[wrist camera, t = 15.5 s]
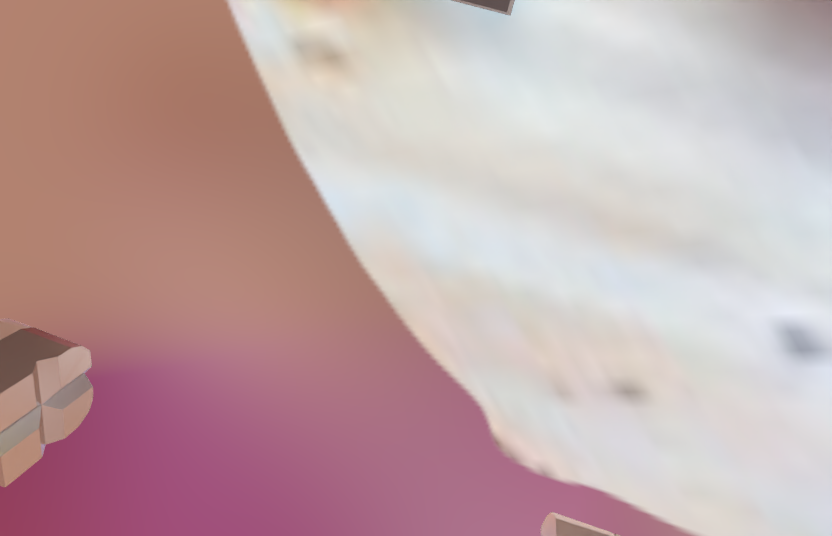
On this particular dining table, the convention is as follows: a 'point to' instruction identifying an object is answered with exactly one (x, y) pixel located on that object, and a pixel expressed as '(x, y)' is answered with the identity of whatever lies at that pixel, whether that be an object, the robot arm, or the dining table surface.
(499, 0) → the brown square tray
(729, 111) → the dining table surface
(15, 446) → the robot arm
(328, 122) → the dining table surface
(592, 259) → the dining table surface
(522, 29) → the dining table surface
